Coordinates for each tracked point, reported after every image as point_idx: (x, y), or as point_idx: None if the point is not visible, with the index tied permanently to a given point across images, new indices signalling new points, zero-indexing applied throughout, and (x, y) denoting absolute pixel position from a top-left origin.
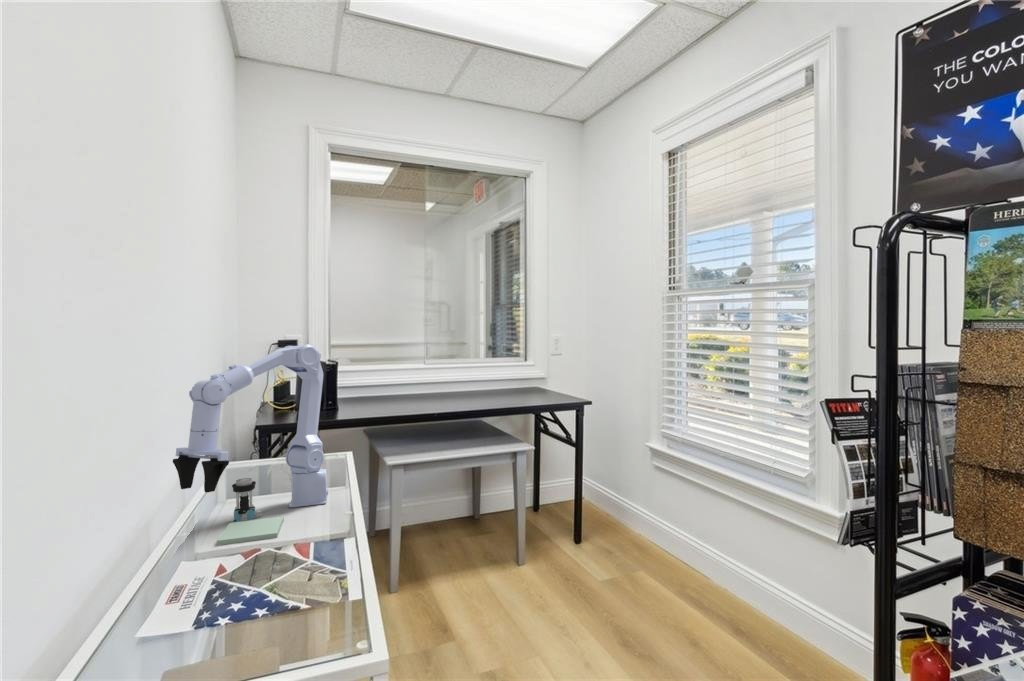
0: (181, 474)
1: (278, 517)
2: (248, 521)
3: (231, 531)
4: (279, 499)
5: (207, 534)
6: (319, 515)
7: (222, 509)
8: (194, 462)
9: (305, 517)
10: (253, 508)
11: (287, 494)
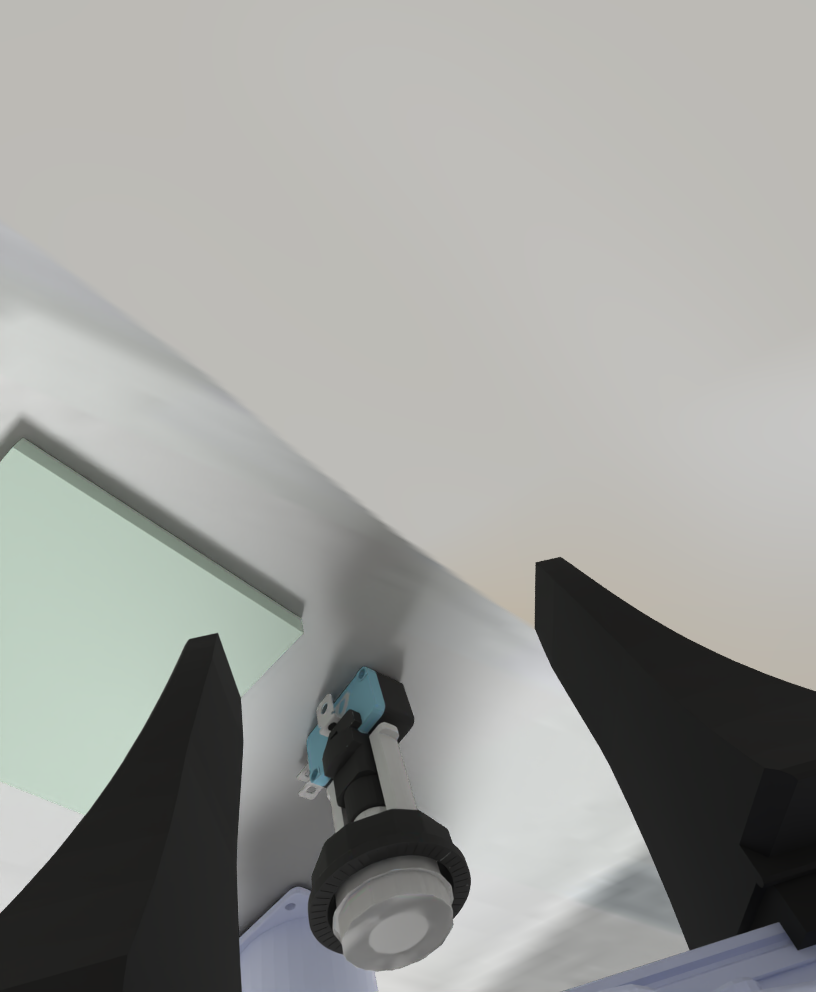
0: (621, 648)
1: None
2: None
3: (125, 573)
4: (476, 897)
5: (301, 502)
6: None
7: None
8: (683, 880)
9: None
10: (316, 781)
11: (506, 937)
